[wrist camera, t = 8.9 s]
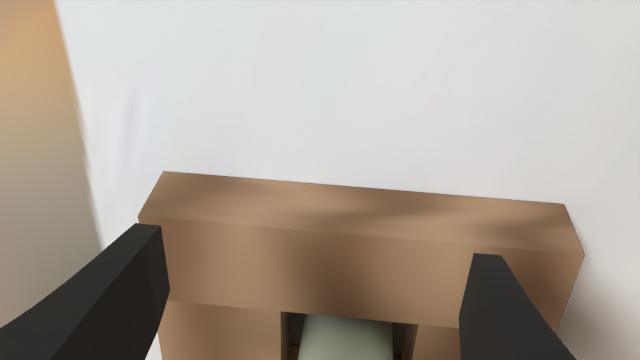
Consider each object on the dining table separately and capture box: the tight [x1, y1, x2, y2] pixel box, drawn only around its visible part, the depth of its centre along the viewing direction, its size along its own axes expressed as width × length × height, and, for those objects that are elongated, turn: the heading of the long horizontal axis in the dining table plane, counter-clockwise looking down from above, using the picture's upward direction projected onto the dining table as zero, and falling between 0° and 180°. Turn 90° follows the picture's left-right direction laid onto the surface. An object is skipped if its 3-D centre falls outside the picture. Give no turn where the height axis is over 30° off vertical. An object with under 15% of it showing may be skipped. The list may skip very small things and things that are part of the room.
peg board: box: [138, 171, 585, 360], centre depth 26 cm, size 16×14×3 cm
